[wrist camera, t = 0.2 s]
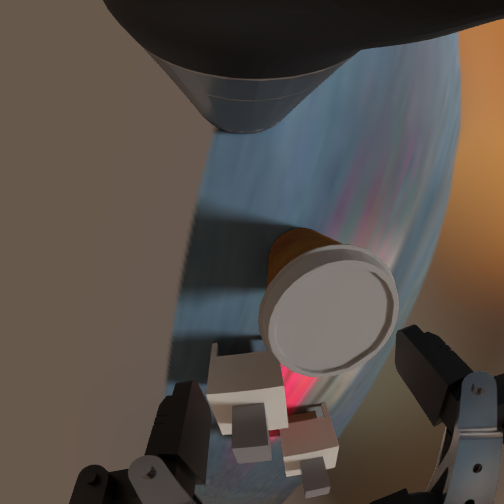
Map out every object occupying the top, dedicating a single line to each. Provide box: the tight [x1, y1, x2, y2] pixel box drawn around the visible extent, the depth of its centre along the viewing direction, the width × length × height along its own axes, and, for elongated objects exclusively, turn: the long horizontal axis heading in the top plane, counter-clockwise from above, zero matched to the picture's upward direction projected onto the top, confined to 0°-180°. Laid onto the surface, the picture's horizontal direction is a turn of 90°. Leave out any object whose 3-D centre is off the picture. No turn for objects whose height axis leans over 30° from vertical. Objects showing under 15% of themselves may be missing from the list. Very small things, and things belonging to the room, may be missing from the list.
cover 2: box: [279, 403, 339, 498], centre depth 29 cm, size 7×7×13 cm
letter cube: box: [288, 411, 317, 423], centre depth 34 cm, size 4×4×4 cm
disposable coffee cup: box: [258, 228, 399, 377], centre depth 22 cm, size 10×10×12 cm
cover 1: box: [206, 343, 289, 463], centre depth 25 cm, size 7×7×13 cm
